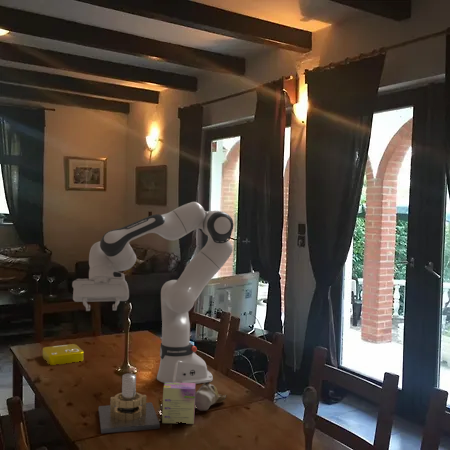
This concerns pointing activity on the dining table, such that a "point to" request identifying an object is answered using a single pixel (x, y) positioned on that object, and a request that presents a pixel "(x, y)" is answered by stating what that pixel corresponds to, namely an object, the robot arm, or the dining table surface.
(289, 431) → the dining table surface
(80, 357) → the element tile
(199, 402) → the ceramic sculpture
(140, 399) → the collar stand
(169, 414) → the box
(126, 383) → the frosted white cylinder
